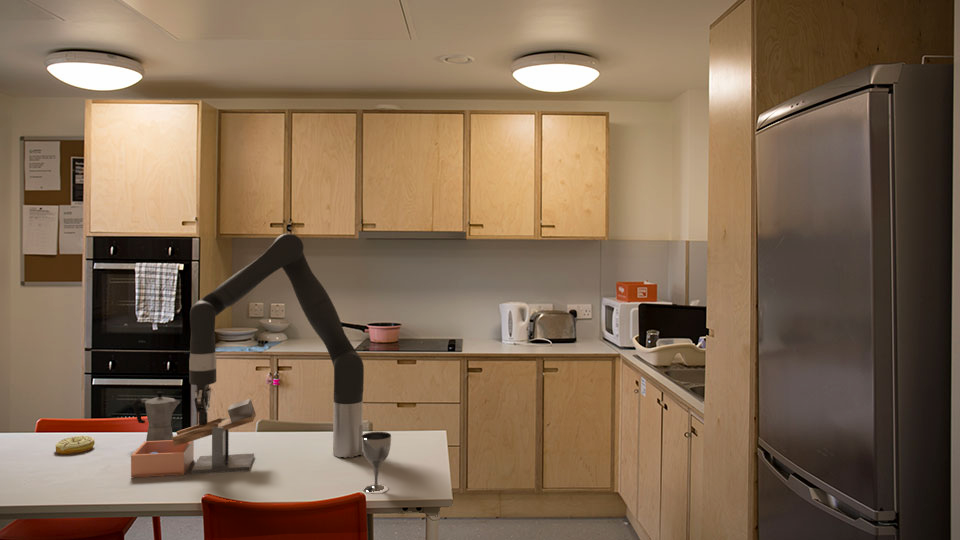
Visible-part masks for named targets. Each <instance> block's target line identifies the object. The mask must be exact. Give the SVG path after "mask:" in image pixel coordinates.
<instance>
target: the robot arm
mask: <svg viewBox="0 0 960 540" xmlns="http://www.w3.org/2000/svg"><path fill="white" fill-rule="evenodd" d="M281 268H282V270H283V271H284V272H285V274H286V276H287V278H288V279H289V281H290V283H291V286H292V289H293V291H294V293H295V296H296V298H297V300H298V303H299V305H300V307H301V310H302V311H303V313H304V315H305V317H306V319H307V321H308V323H309V324H310V325H311V328H312V329H313V330H314V332H315V333H316V335H318V337H319V338H320V340H321V341H322V342H323V344H324V346H325V348H326V350H327V352H328V354H329V357H330V359H331V360H330V361H331V362H332V365H333V418H332V419H333V425H332V426H333V427H332V429H333V430H332V432H333V433H332V435H333V436H332V438H333V440H332V441H333V442H332V446H333V447H332V450H333V451H332V455H333V456H334V457H336V456H337V458H341V457H344V459H345V458H346V459H347V457H349V458H354V456H356V457H359V456H358V455H361V456H363V448H362V435H363V434H364V433H363V431H364V429H363V427H364V426H363V402H364V401H363V400H364V397H363V396H364V382H365V381H364V379H365V377H364V374H365V372H364V371H365V370H364V369H365V368H364V361H363V360H362V358H361V356H360V354H359V353H358V352H357V350H356V349H355V347H354V346H353V345H352V343H351V341H350V340H349V338H348V337H347V335H346V333H345V330H344V327H343V326H342V325H343V324H342V322H341V319H340V317H339V314H338V312H337V310H336V307H335V305H334V303H333V302H332V300H331V298H330V296H329V293H327V290H326V289H325V287H324V286H323V284H322V283H321V282H320V280H319V279H318V278H317V277H316V275H315V274H314V273H313V271H312V269H311V267H310V266H309V264H308V261H307V259H306V256H305V253H304V243H303V240H302V239H301V238H300V237H299V236H298V235H296V234H293V233H283V234H281V235H278V236H277V237H276V238H275V239H274V241H273V243H272V244H271V245H270V246H269V247H268V248H267V250H266V251H264V252H263V253H262V254H261V255H260V256H258V258H257V259H255V260H254V261H252V262H251V263H250V264H248V265H245V267H243V268H242V269H240V270H239V271H237V272H236V273H234V274H232V276H230V277H229V278H228V279H226V280H225V281H223V282H222V283H221V284H219V285H218V286H217V287H216V288H215V289H214V290H212V291H211V292H210V293H208V294H206V295H205V296H203V297H201V299H199V300H198V301H196V302H195V303H194V304H192V306H191V307H190V311H189V323H190V324H189V325H190V326H189V327H190V341H189V350H190V351H189V360H188V362H189V367H188V369H189V370H188V371H189V372H188V373H189V377H188V378H189V384H190V385H192V386H197V387H196V390H195V391H194V397H195V398H194V405H195V410H196V412H197V413H198V425H206V424H207V423H208V418H209V417H208V416H209V415H208V411H209V410H210V409H209V408H210V407H211V406H210V403H211V395H212V388H210V385H213V384H215V383H216V382H217V356H216V355H217V354H216V336H215V333H216V331H215V330H216V329H215V328H216V317H217V316H218V315H220V314H221V313H222V312H223V311H225V310H226V309H227V308H229V307H232V306H233V305H235V304H236V303H237V302H239V301H240V300H242V299H243V298H244V297H245V296H246V295H247V294H249V293H250V292H251V291H252V290H253V289H255V288H256V287H257V286H258V285H259V284H261V283H262V282H263V281H264V280H265V279H267V278H269V276H271V275H272V274H273V273H275V272H277V271H278V270H280V269H281Z"/></svg>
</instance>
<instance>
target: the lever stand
mask: <svg viewBox="0 0 960 540" xmlns="http://www.w3.org/2000/svg"><path fill="white" fill-rule="evenodd" d="M220 418H221V421H222V420H226V419H229V418H230V417H229V418H228V417H224V418H222V417H220ZM229 431H230V429H228V430H225V431H223V427H213V428H212V435H211V455H201V456H199V457H198V458H197V461H196V462H195V463H194V466H192V468H191V470H190V471H191V472H190V473H191V475H193V474H192V473H202V474H219V473H235V472H249V471H250V469H251V466H252V464H253V461H254V459H255V453H238V454H234V453H233V454H230V453H229V452H230V450H229V447H230V446H229V445H230V444H229V442H230V441H229V440H230V439H229V438H230V432H229Z"/></svg>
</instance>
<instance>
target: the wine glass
mask: <svg viewBox="0 0 960 540" xmlns="http://www.w3.org/2000/svg"><path fill="white" fill-rule="evenodd" d="M391 446H392V435H391V433H389V432H386V431H370V432H367V433H363V435H362V448H363V452H362V454H363V457H365V459H366V460H367V461H368V462H369V464H370V465H371V467H372V469H373V474H374V484H370V486H369V485H366V486H367V487H366V486H365V487H366V488H365V489H364V490H363V489H362V490H363V492H364V493H366V492H372V491H373V492H374V491H380V490H383V489H384V486H382V485H383V484H380V485H378V484H379V483H378V481H379V480H378V477H379V471H380V467H381V465H382V464H383V463H384V462H385V461H386V459H387V458H388V457H389V455H390V451H391Z"/></svg>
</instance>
